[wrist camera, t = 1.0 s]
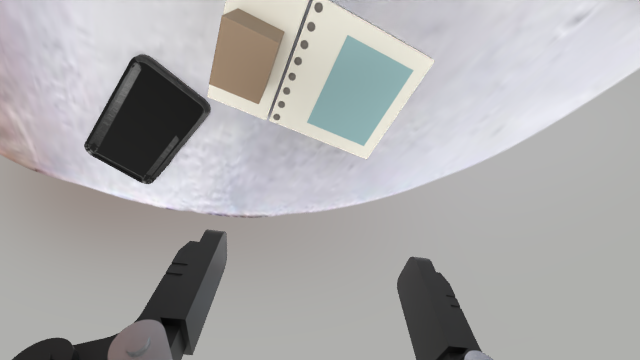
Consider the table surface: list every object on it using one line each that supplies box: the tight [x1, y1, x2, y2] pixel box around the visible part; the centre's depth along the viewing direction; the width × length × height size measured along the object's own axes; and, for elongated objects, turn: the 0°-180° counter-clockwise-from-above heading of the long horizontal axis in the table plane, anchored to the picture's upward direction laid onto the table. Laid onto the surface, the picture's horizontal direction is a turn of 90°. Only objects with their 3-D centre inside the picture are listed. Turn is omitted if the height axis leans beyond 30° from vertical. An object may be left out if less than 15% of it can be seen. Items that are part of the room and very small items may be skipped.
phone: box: [84, 55, 210, 184], centre depth 29 cm, size 8×1×15 cm
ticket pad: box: [269, 0, 435, 159], centre depth 26 cm, size 12×12×1 cm
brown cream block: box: [207, 0, 309, 120], centre depth 21 cm, size 6×12×6 cm, turn 155°
